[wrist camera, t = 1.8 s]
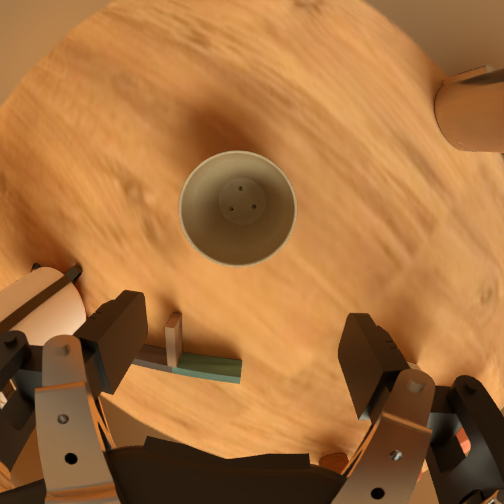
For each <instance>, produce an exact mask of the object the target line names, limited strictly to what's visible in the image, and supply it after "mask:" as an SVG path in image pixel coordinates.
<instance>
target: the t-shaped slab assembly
mask: <svg viewBox="0 0 504 504" xmlns="http://www.w3.org/2000/svg"><path fill="white" fill-rule="evenodd" d="M165 338H166V349H165V348H160V347H155V346H150V345H146V344H143V345H142V347H141V348H140V350H139V352H138V353H137V355H136V357H135V358H134V360H133V362H132V363H131V364H135V365H139V366H143V367H147V368H151V369H156V370H160V371H165V372H170V373H174V374H180V375H185V376H190V377H196V378H202V379H208V380H215V381H222V382H230V383H238V384H240V377H241V368H242V361H241V360H233V359H225V358H218V357H211V356H204V355H198V354H192V353H186V352H183V344H182V314H180V313H174V312H173V313H172V315H171V317H170V318H169V320H168V322H167V324H166V326H165Z"/></svg>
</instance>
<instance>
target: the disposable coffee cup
mask: <svg viewBox="0 0 504 504" xmlns="http://www.w3.org/2000/svg"><path fill="white" fill-rule="evenodd" d="M348 463H349V460H348V458H347V455H345V454H341V453H339V454H332V455H329V456H326V457H324V458H322V459H321V460H320V461H319V466H322V467H326V468H328V469H331V470H333V471H336V472H338V473H340V474H341V473H342V471H343V470H344V468H345V467H346V466H347V464H348Z"/></svg>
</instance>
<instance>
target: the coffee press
mask: <svg viewBox="0 0 504 504" xmlns="http://www.w3.org/2000/svg"><path fill="white" fill-rule="evenodd" d="M33 269H35V270H34V271H33V272H32V270H33ZM82 272H83V271H82V270H81V269H80V268H79V267H78V266H77V265H74V266H73V267H72V268H71V269H70V270H69V271H68V272H67V273H66V274H65V275H64V274H63V273H61V272H60V271H58V270H56V269H54V268H50V267H40V265H39V264H37V263H34V264H33V266H32V269H31V272H30V273H29V274H27V275H26V276H24V277H22V278H21V279H19V280H17V281H16V282H14V283H13V284H11V285H9V286H8V287H6V288H5V289H3V290H2V291H0V336H1V335H2V334H3V333H5V332H8V331H12V330H19V331H22V332H23V333H25V335H26V337H27V340H28V342H29V345H38V346H44V344H45V343H46V342H47V341H48V340H49V339H50V338H52V337H54V336H57V335H64V334H66V335H73V333H74V332H75V331H76V330H77V329H78V328H79V327H80V326H81V325H82V324H83V323H84V322H85V321H86V312H85V308H84V304H83V301H82V299H81V296H80V294H79V293H78V291H77V289H76V288H75V286H74V285H73V284H74V282H75V281H76V280H77V279H78V278H79V276H80V275H81V274H82ZM15 390H16V388H15V386H14V384H13V382H12V380H11V379H10V381H9V382H8V383H7V384H6V386H5V387H4V388H3V389H2V391H1V392H0V408H1V409H2V408H3V406H4V405H5V404H6V402H7V401H8V399H9V398H10V397H11V395H12V394H13V393H14V391H15Z"/></svg>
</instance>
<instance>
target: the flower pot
mask: <svg viewBox="0 0 504 504" xmlns="http://www.w3.org/2000/svg"><path fill="white" fill-rule="evenodd" d="M239 187H240V190H239ZM253 205H255V207H254V206H253ZM231 209H233V210H232V211H231ZM296 218H297V200H296V195H295V192H294V189H293V186H292V184H291V182H290V181H289V179H288V177H287V176H286V174H285V173H284V172H283V171H282V170H281V169H280V168H279V167H278V166H277V165H276V164H275V163H274V162H272V161H271V160H269V159H268V158H266V157H264V156H262V155H259V154H257V153H253V152H249V151H242V150H233V151H225V152H221V153H218V154H216V155H213V156H211V157H209V158H207V159H206V160H204V161H203V162H201V163H200V164H199V165H198V166H197V167H196V168H195V169H194V170H193V171H192V172H191V173H190V175H189V176H188V178H187V179H186V181H185V183H184V185H183V188H182V190H181V194H180V198H179V219H180V224H181V227H182V230H183V232H184V234H185V236H186V238H187V240H188V241H189V243H190V244H191V245H192V246H193V248H194V249H195V250H196V251H197V252H199V253H200V254H201V255H202V256H204V257H205V258H207V259H208V260H210V261H212V262H215V263H217V264H220V265H223V266H229V267H248V266H253V265H256V264H259V263H262V262H264V261H266V260H268V259H269V258H271V257H273V256H274V255H275V254H276V253H278V252H279V251H280V250H281V249H282V248H283V246H284V245H285V244H286V243H287V241H288V240H289V238H290V236H291V234H292V232H293V229H294V226H295V223H296Z"/></svg>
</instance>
